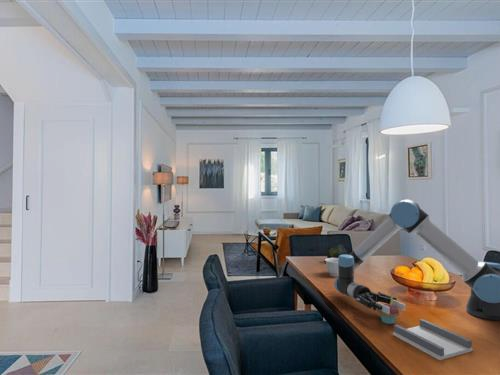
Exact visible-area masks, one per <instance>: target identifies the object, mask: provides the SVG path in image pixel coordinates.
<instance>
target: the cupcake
mask: <svg viewBox="0 0 500 375" xmlns="http://www.w3.org/2000/svg"><path fill="white" fill-rule="evenodd" d="M390 296H391V302H390V304H387V303H384V305H386V306H388V307H390V314H387V313H385V312H382V311H380V310H378V309H376V312H377V314H379V316H380V318H381V321H382V323H384V324H387V325H389V324H390V325H392V324H393V325H394V324H395V321H396V319H397V317H398V316H399V315H400V311H399V310H400V309H398V308H396V307H394V306H392V300H393V297H394V294H393V293H392V294H391V295H390Z"/></svg>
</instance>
